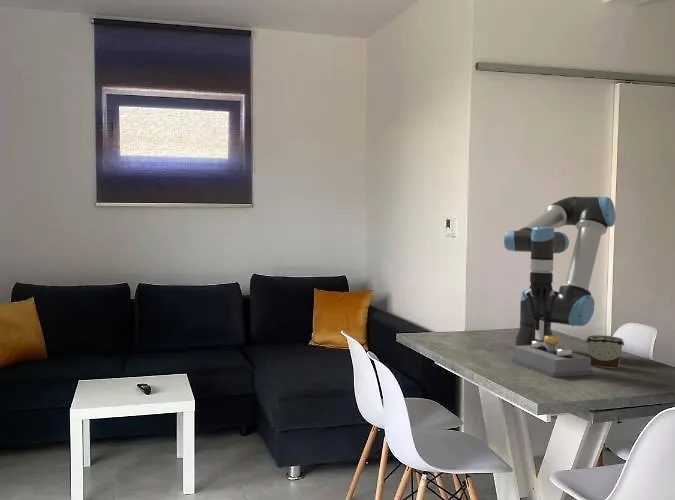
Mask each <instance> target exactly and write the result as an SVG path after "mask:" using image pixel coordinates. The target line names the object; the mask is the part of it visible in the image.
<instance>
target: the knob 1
mask: <svg viewBox="0 0 675 500" xmlns="http://www.w3.org/2000/svg"><path fill="white" fill-rule="evenodd" d="M531 347H532V348H536V349H539V350H542V349H545V348H546V343H545V342H544V341H540V340H533V341H532V345H531Z"/></svg>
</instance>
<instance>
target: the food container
mask: <svg viewBox="0 0 675 500" xmlns="http://www.w3.org/2000/svg"><path fill="white" fill-rule="evenodd" d="M585 343H587V353H588V355H587V356H588V357H589V358H591V366H590V367H596V368H597V367H598V368H609V369H619V368H620V361H621V355H622V349H623V346H625V341H624V340H623V338H621V337H617V336H611V335H602V334H601V335H600V334H598V335H597V334H595V335H593V334H592V335H588V336H587V338H586V340H585Z"/></svg>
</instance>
